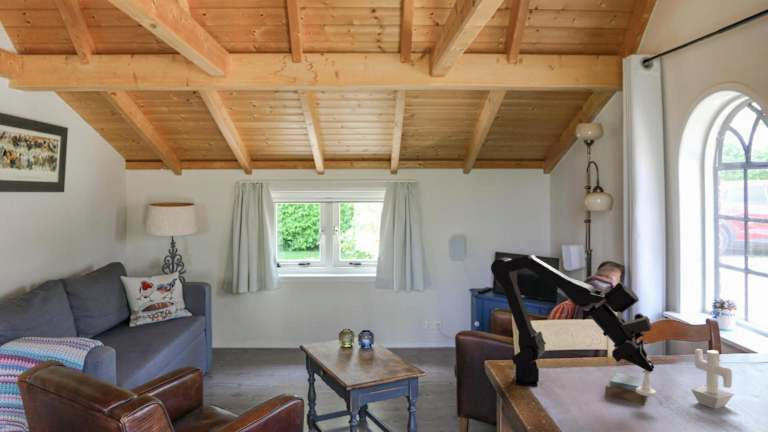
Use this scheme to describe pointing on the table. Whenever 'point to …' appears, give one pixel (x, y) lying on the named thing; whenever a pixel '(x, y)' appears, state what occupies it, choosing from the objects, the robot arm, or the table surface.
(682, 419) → the table surface
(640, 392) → the chess piece
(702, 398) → the figurine
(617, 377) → the stepped pedestal base
